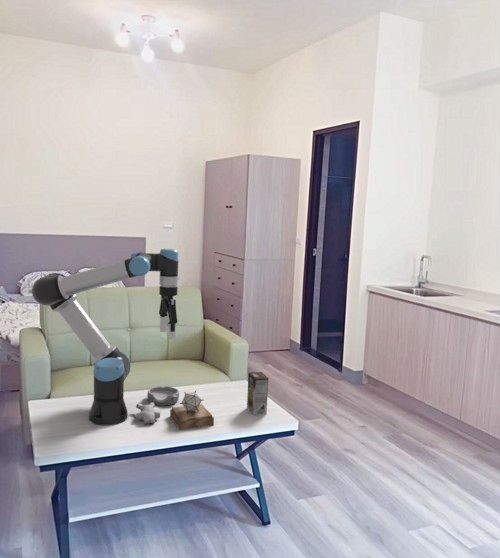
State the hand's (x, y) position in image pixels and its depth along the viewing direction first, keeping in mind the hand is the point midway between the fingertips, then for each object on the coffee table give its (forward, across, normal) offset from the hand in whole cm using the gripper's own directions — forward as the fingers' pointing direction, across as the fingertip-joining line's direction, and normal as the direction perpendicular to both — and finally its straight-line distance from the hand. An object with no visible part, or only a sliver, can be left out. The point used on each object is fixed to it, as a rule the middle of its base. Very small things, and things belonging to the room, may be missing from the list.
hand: (167, 335), depth 229 cm
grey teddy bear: (+32, -10, +10) cm, 35 cm away
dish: (+32, +8, -1) cm, 33 cm away
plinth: (+32, -18, -6) cm, 37 cm away
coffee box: (+32, -16, -36) cm, 51 cm away
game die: (+28, -18, -6) cm, 34 cm away
